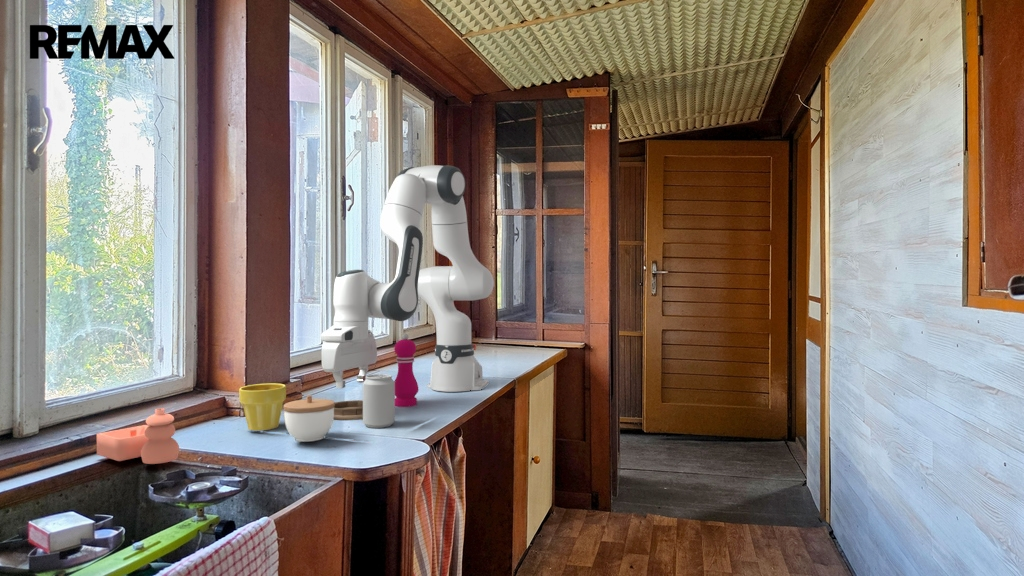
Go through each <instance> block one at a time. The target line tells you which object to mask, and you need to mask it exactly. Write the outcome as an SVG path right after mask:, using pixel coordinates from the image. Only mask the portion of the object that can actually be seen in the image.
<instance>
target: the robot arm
mask: <svg viewBox="0 0 1024 576" xmlns="http://www.w3.org/2000/svg"><path fill="white" fill-rule="evenodd" d="M465 190H466V178H465V175H464V174H463V172H462V171H461V169H460V168H459V167H457V166H453V165H449V164H446V165H438V164H437V165H436V164H430V165H425V166H423V165H421V166H416V167H413V166H411V167H408V168H404V169H402V170H401V171H400V172H399V173H398V175H397V176H396V177H395V178H394V180H393V182H392V184H391V185H390V188H389V190H388V192H387V194H386V196H385V201H384V203H383V206H382V209H381V210H382V211H381V214H380V219H379V227H380V229H381V232H382V233H383V235H384V236H385V237H386V238H387V240H388V239H389V240H390V242H393V243H395V244H396V246H397V248H398V258H397V263H396V270H395V276H394V279H392V281H391V282H381V281H379V280H376V279H374V278H373V277H371V276H370V275H369V274H368V273H366V271H365V270H364V269H352V270H351V269H350V270H345V271H341V272H339V273H338V274H337V275H336V276H335V280H334V283H333V284H334V285H333V294H332V296H333V297H332V299H333V302H332V303H333V308H334V316H333V325H331V326H330V327H329V328H328V329H326V330H325V331H323V332H322V333H321V336H320V338H321V339H320V340H321V342H323V343H322V346H321V367H322V370H323V371H324V372H325V373H332V376H333V378H334V380H335V387H336V389H344V388H346V380H344V378H343V375H344V371H346V370H347V371H348V370H351V369H355V368H358V369H359V374H358V375H357V377H356V382H357V383H358V384H363V382H364V381H365V380H366V376H367V374H368V371H369V368H370V367H369V366H371V365H373V364H376V363H377V360H378V348H377V340H376V338H375V337H374V333H373V332H372V330H370V329H369V318H372V319H373V318H374V319H381V320H382V319H383V320H384V319H386V320H391V321H396V322H405V321H407V320H409V319H410V318H411V317H413V315H414V314H415V313H416V311H417V308H418V304H419V298H420V299H422V300H423V301H424V302H425V303H426V304H427V305H428V306H429V308H430V310H431V312H432V314H433V317H434V320H435V330H436V332H435V334H436V343H435V346H434V347H435V348H434V354H435V358H434V359H433V361H432V362H431V369H430V371H431V372H430V383H426V384H427V385H426V388H429V389H431V390H432V391H438V392H446V393H447V392H450V393H453V392H470V390H471V391H482V390H483V389H485V388H486V387H487V386H488V385H489V384H490V383H489V382H490V380H488V379H483V378H484V377H483V366H482V364H480V362H479V361H478V360H477V358H476V357H475V351H476V349H477V344H476V343H472V321H471V319H470V317H469V316H468V315H466V313H464V312H461V311H459V310H457V308H456V306H455V303H454V301H477V300H483V299H487V298H488V297H490V295H492V293H493V290H494V286H495V280H494V276H493V274H492V273H491V271H490V270H489V268H487V267H486V266H484V265H483V264H482V263H481V262H480V261H479V260H478V259H477V257H476V255H475V254H474V252H473V250H472V248H471V244H470V237H469V230H468V229H469V228H468V218H467V217H468V215H467V209H466V204H465V203H466V202H465V200H464V196H463V195H464V193H465ZM426 204H430V206H431V209H430V210H431V212H430V213H431V217H430V218H431V219H430V220H431V233H432V241H433V242H432V244H433V245H432V246H433V248H434V249H435V251H436V252H437V253H438V254H440V255H442V256H445V257H446V258H447V259H449V261H450V262H451V265H449V266H448V265H447V266H446V265H443V266H441V265H438V266H437V265H435V266H430V267H425V268H421V262H422V256H423V255H422V254H423V246H424V245H423V244H424V239H423V238H424V236H423V233H422V231H421V223H422V219H423V215H424V210H425V206H426ZM488 383H489V384H488ZM487 384H488V385H487ZM486 385H487V386H486ZM485 386H486V387H485ZM484 387H485V388H484ZM481 389H482V390H481Z"/></svg>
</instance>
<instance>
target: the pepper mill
mask: <svg viewBox="0 0 1024 576" xmlns="http://www.w3.org/2000/svg"><path fill="white" fill-rule="evenodd" d="M401 338H402V339H399V340H398V341H397V342H396V343H395V344H394V353H395V354H396V356H397V357H396V358H395V359H396V361H395V362H396V363H397V366H398V367H397V374H396V377H395V379H394V380H393V381H394V382H395V407H398V408H408V407H409V408H410V407H413V406H416V405H418V403H417V402H418V401H417V400H418V399H417V397H416V395H417V394H418V392H419V384H418V382H417V379H416V377H415V375H414V369H413V367H414V366H413V364H414V362H415V356H414V355H415V353H416V351H417V346H416V343H415V342H414V341H413V340H411V339H409V335H408V334H407V333H404V334H402V336H401Z"/></svg>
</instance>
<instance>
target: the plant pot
mask: <svg viewBox="0 0 1024 576" xmlns="http://www.w3.org/2000/svg"><path fill="white" fill-rule="evenodd" d="M238 394H239V395H238V397H239V400H238V401H239V403H240V404H241V405H242V407H243V412H244V416H245V420H246V424H247V425H246V426H247V428H248V430H250V431H251V432H252V431H254V432H255V431H257V432H258V431H259V432H262V431H269V430H275V429H277V428H278V427H279V426H280V425H279V424H280V422H281V421H280V420H281V414H282V409H283V406H284V401H285V400H286V399H287V385H285V384H283V383H274V382H273V383H257V384H248V385H245V386H241V387H240V388H239V389H238Z"/></svg>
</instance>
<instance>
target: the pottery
mask: <svg viewBox="0 0 1024 576" xmlns="http://www.w3.org/2000/svg"><path fill="white" fill-rule="evenodd" d="M165 411H166V410H165V408H155V409H154V412H155V413H153V414H151V415H150V416H148V417H147V418H146V419H145V423H146V424H143V425H138V426H132V427H127V428H120V429H115V430H110V431H106V432H105V431H103V432H100V433H96V456H100V457H104V458H106V459H107V458H108V459H110V460H114V461H117V462H123V461H126V460H131V459H135V458H140V457H141V461H142V463H143V464H148V465H155V464H156V465H157V464H165V463H168V462H172V461H175V460H177V459H178V457H179V453H180V446H179V443H178V442H177V440H176V439H175V438H173V436H174V434H175V433H176V428H175V425H174V424H172V423H174V420H175V418H174V416H173V415H172V414H170V413H165Z"/></svg>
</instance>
